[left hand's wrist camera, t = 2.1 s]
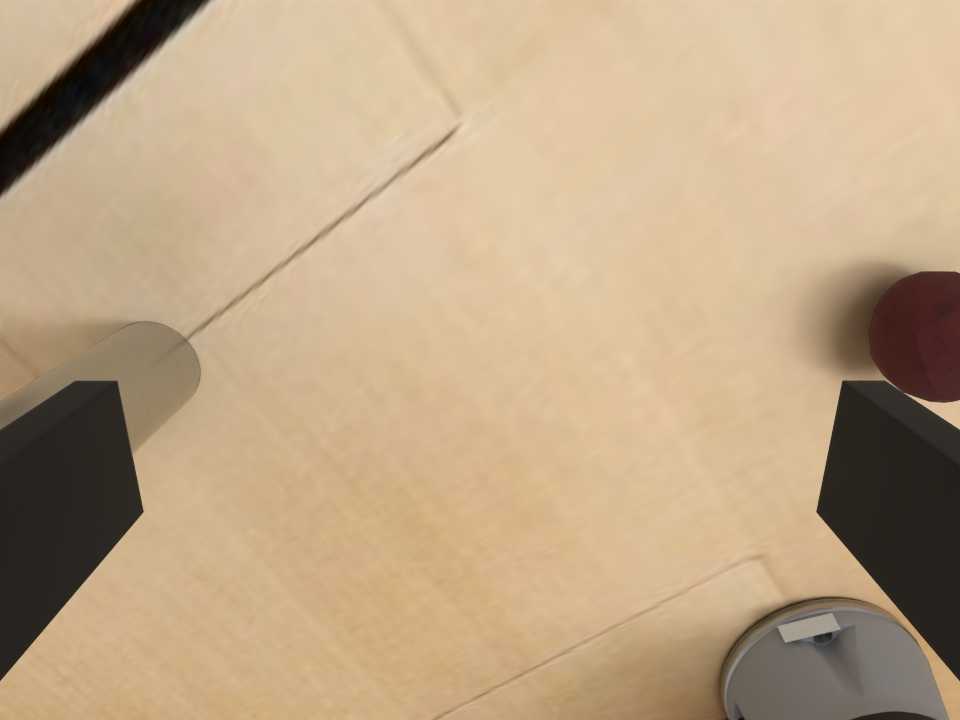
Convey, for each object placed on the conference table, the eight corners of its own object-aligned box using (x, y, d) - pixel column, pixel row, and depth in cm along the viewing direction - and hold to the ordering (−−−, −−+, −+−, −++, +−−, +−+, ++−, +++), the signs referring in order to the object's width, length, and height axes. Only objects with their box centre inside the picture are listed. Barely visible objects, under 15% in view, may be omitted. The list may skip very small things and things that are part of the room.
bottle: (188, 421, 45) (-91, 714, 23) (97, 389, 45) (-281, 661, 22) (211, 342, 43) (-70, 579, 21) (117, 307, 43) (-276, 515, 20)
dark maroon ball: (873, 394, 44) (941, 443, 38) (825, 299, 42) (889, 333, 36) (980, 335, 43) (1071, 375, 36) (937, 234, 41) (1026, 257, 34)
